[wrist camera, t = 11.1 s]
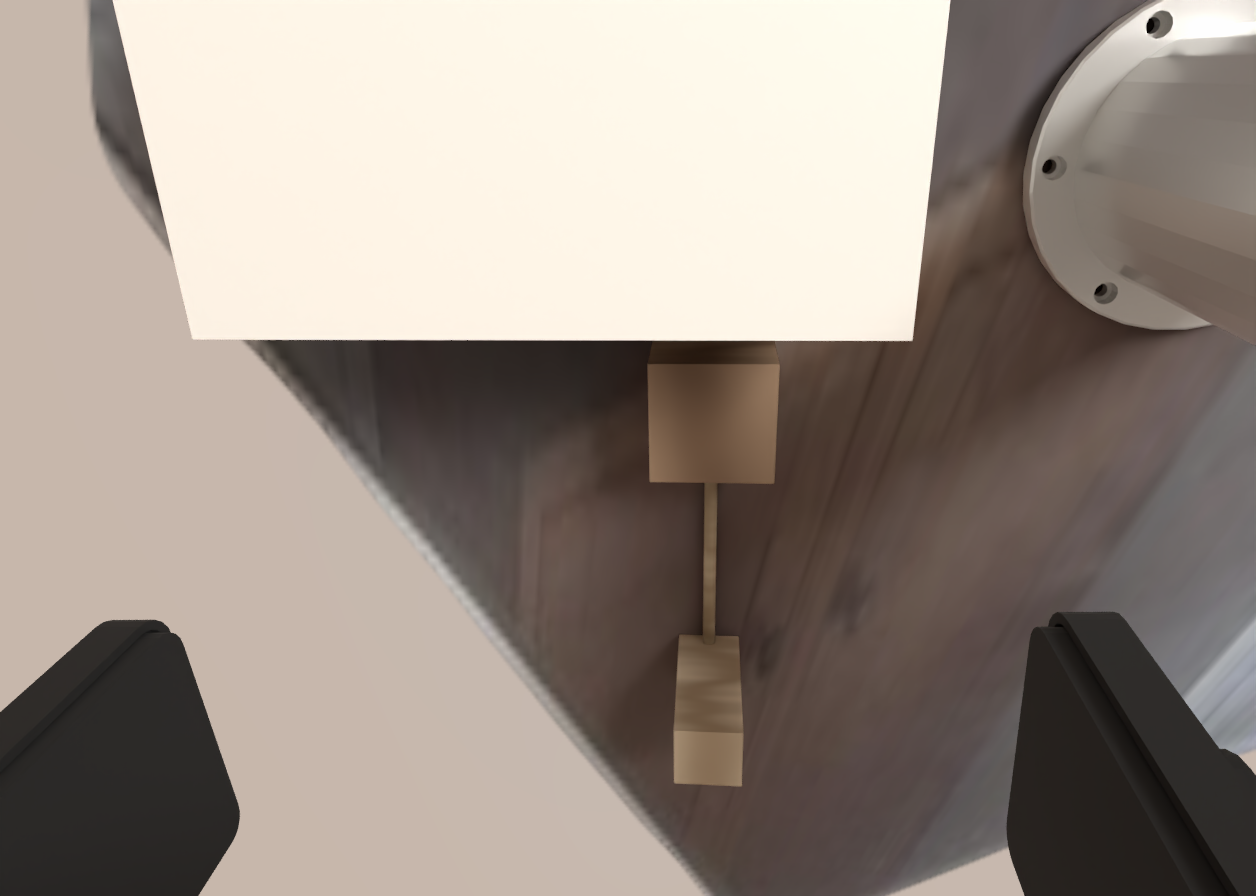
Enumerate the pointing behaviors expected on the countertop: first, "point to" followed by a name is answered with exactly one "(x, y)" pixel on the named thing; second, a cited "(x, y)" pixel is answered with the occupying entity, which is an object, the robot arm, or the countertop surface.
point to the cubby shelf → (541, 165)
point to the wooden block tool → (711, 519)
